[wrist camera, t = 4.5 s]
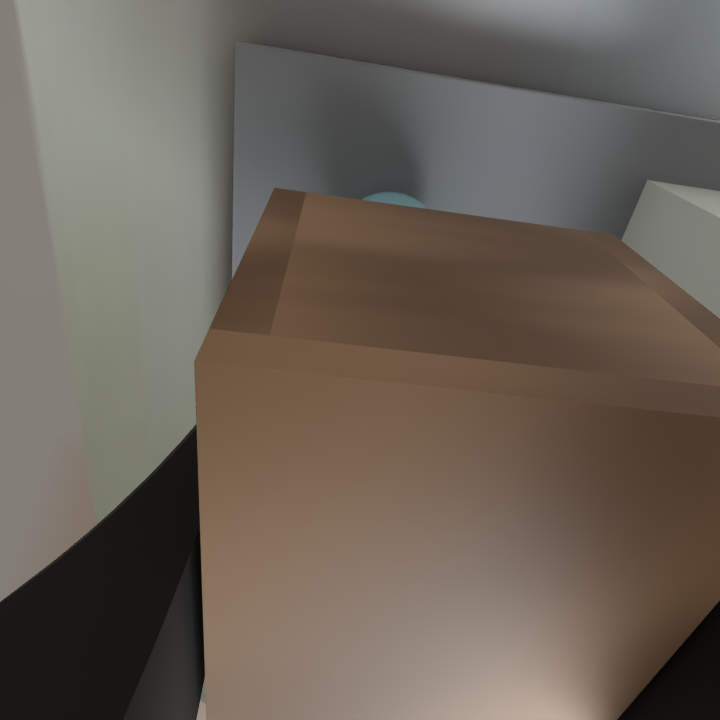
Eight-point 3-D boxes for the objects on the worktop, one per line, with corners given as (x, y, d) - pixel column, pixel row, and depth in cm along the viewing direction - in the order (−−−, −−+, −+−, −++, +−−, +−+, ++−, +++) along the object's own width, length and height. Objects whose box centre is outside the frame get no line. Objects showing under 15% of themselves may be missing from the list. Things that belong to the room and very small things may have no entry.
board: (849, 142, 16) (884, 150, 15) (666, 442, 22) (682, 462, 21) (243, 41, 14) (235, 43, 13) (235, 398, 20) (230, 417, 19)
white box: (824, 206, 15) (1002, 275, 11) (686, 428, 20) (775, 535, 16) (647, 180, 15) (764, 240, 11) (546, 413, 20) (601, 520, 15)
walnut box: (613, 234, 9) (865, 434, 4) (478, 561, 13) (538, 811, 9) (274, 187, 8) (194, 361, 4) (255, 544, 13) (209, 800, 9)
